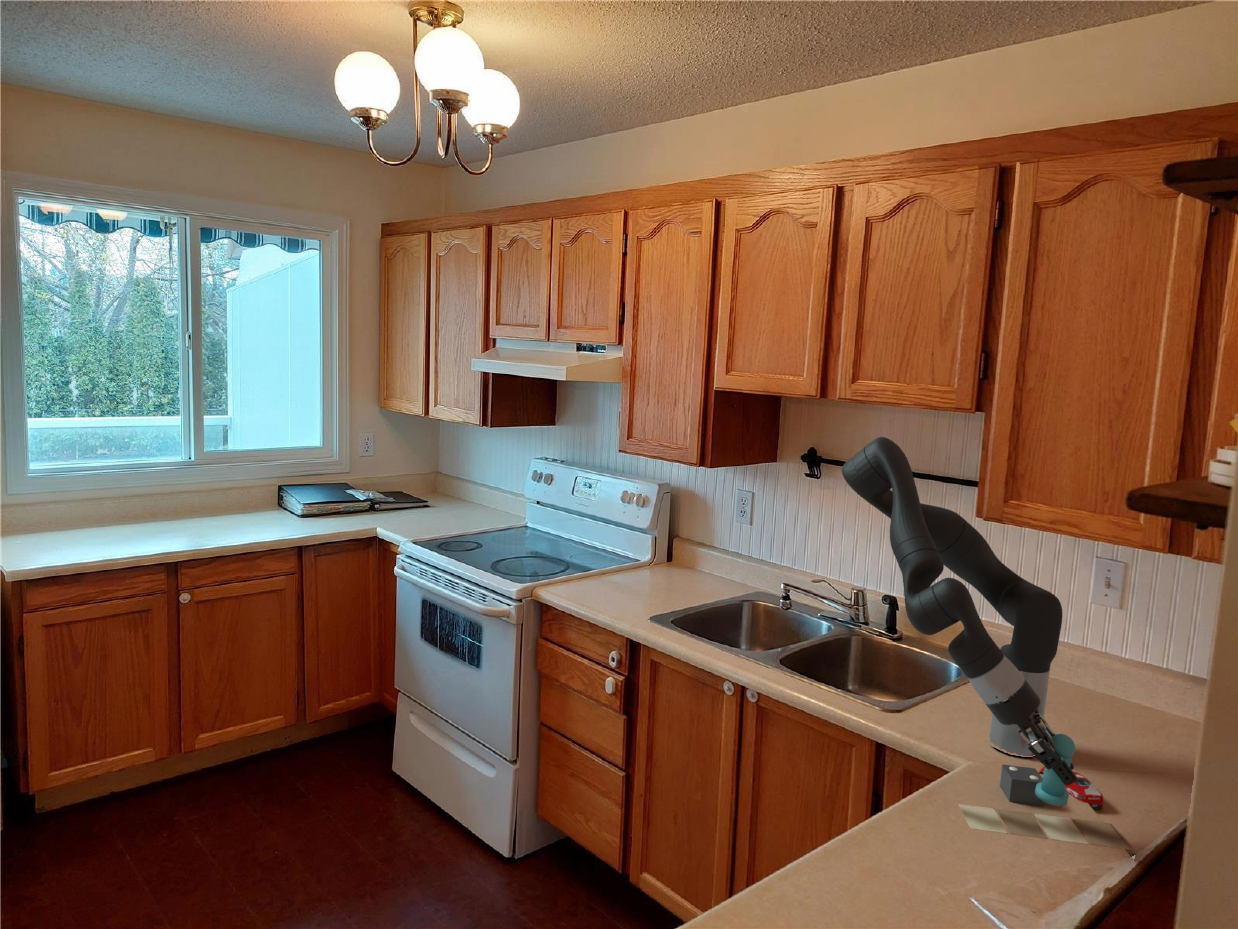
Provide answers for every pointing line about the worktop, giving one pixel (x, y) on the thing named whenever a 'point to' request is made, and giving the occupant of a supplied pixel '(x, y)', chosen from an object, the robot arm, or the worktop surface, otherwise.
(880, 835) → the worktop surface
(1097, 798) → the race car
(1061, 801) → the pawn
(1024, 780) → the die
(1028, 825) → the track board
